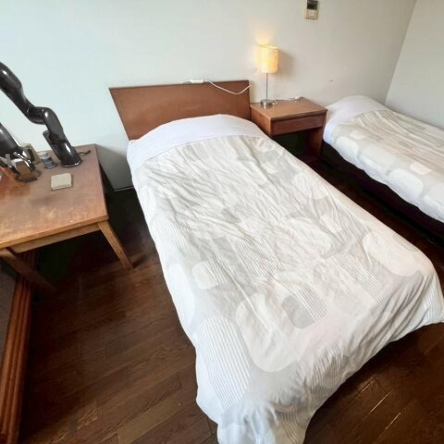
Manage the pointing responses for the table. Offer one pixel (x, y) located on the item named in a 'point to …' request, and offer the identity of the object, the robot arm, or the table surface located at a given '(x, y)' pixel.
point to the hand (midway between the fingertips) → (26, 171)
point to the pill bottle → (46, 159)
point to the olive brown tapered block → (37, 158)
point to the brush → (26, 172)
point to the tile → (61, 181)
